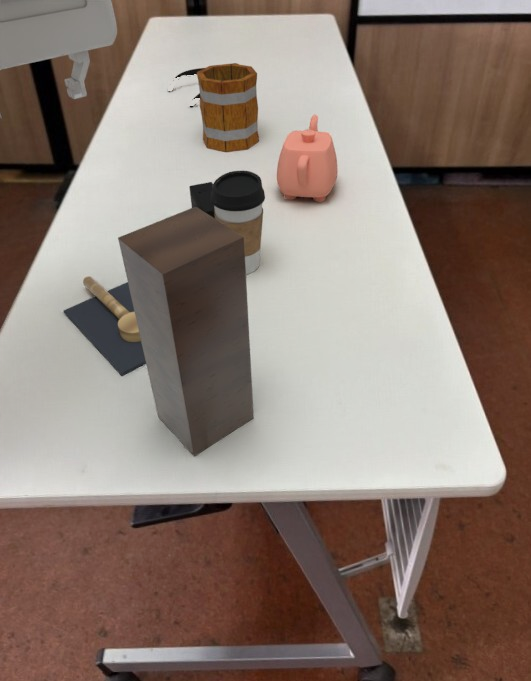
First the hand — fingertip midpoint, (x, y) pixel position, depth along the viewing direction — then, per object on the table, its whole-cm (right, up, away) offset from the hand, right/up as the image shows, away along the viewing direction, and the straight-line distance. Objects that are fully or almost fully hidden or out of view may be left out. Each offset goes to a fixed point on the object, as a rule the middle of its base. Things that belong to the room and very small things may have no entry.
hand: (36, 107), depth 60 cm
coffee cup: (+20, -12, +36) cm, 43 cm away
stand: (+17, -34, +11) cm, 40 cm away
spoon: (+1, -20, +26) cm, 33 cm away
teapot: (+33, +6, +55) cm, 65 cm away
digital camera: (+14, -5, +44) cm, 46 cm away
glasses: (+8, +44, +99) cm, 108 cm away
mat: (+4, -22, +25) cm, 33 cm away
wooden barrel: (+16, +24, +77) cm, 82 cm away
